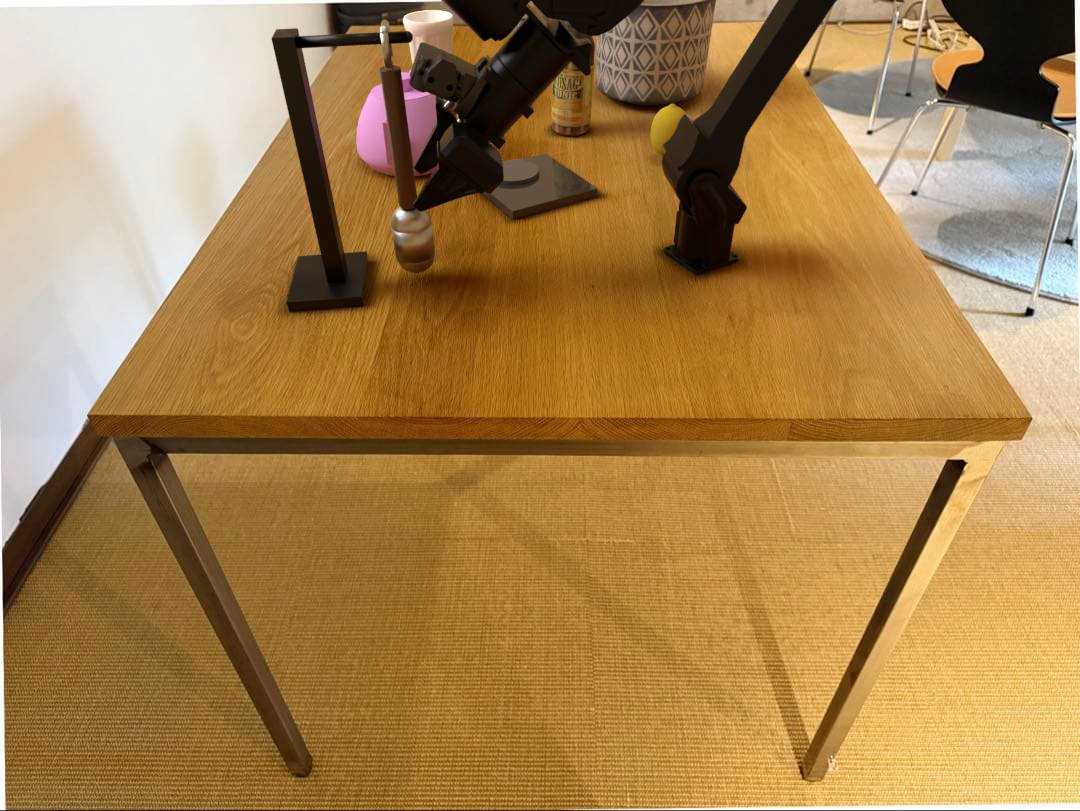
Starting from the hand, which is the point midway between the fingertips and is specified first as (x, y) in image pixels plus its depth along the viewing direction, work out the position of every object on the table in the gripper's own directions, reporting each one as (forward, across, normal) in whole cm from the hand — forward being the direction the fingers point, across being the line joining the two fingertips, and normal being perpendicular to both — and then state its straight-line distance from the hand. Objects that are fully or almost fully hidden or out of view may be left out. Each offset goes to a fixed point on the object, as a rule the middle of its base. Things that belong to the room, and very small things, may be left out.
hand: (416, 188), depth 80 cm
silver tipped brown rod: (+8, 0, +6) cm, 10 cm away
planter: (-20, -56, +35) cm, 69 cm away
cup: (+6, -56, +9) cm, 57 cm away
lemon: (-17, -28, +32) cm, 47 cm away
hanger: (+12, 0, +3) cm, 13 cm away
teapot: (+9, -34, +6) cm, 36 cm away
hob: (-2, -22, +18) cm, 28 cm away
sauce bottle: (-9, -42, +24) cm, 49 cm away
